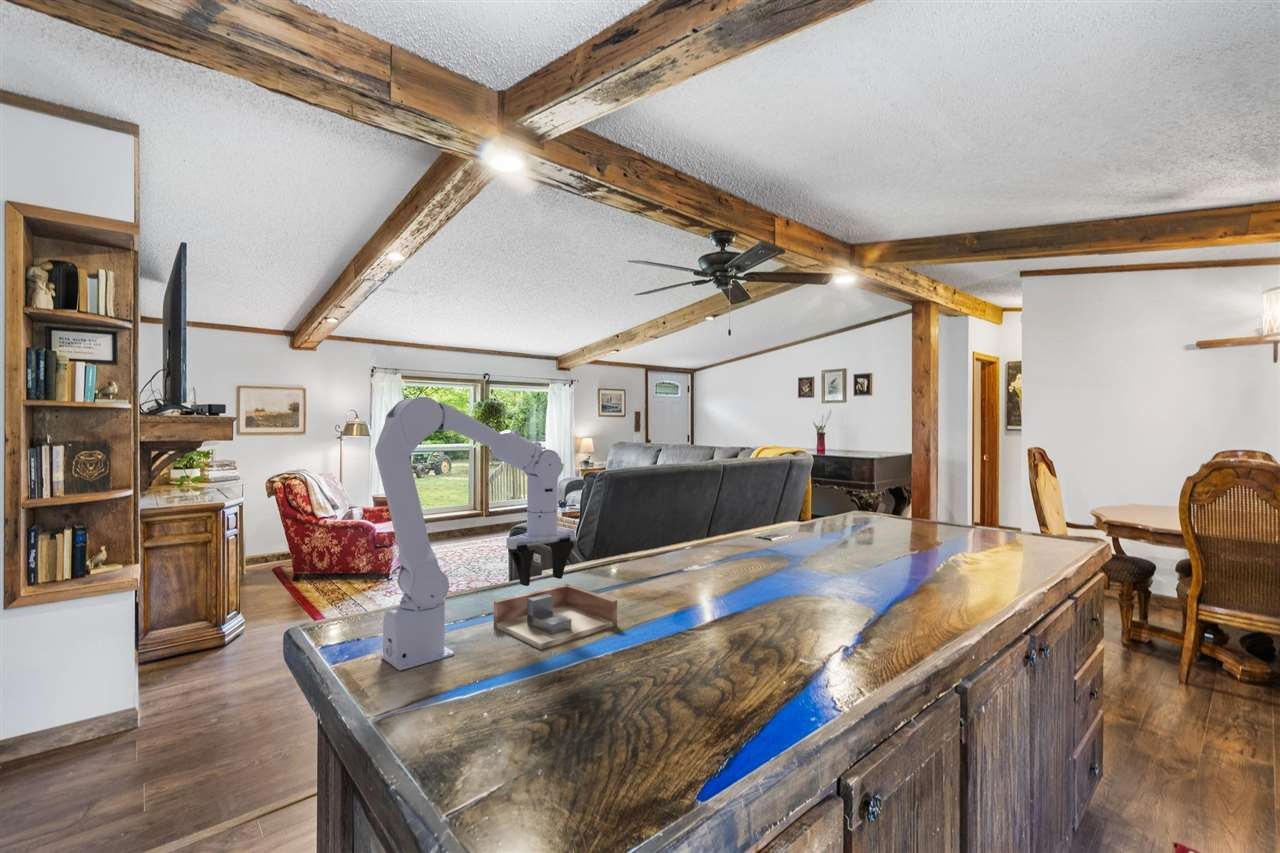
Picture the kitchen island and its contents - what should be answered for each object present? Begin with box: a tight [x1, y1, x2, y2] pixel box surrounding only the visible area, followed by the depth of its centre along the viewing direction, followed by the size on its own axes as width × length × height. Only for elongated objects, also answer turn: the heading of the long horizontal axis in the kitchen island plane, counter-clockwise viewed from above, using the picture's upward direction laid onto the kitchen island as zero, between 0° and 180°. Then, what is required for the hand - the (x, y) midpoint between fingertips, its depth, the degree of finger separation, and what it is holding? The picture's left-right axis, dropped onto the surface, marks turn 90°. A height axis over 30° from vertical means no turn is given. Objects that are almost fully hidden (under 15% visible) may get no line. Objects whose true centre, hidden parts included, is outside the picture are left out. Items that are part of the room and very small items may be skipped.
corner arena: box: [493, 583, 618, 650], centre depth 114 cm, size 18×16×5 cm
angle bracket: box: [527, 594, 571, 635], centre depth 110 cm, size 8×4×5 cm, turn 44°
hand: (541, 581), depth 112 cm, fingers open, 7 cm apart
